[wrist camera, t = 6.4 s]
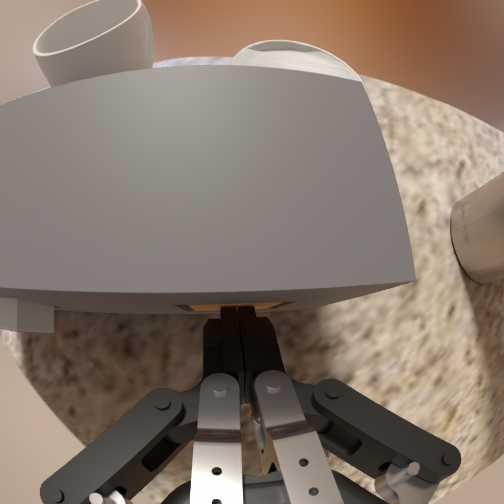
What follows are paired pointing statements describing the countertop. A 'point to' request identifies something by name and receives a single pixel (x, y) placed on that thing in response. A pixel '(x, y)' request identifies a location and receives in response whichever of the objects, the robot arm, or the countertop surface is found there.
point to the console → (198, 193)
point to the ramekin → (294, 58)
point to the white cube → (26, 316)
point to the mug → (96, 42)
